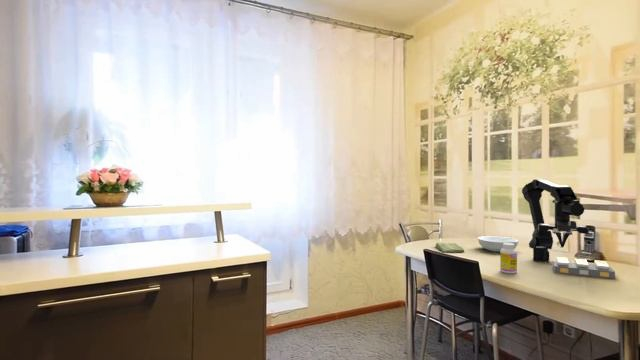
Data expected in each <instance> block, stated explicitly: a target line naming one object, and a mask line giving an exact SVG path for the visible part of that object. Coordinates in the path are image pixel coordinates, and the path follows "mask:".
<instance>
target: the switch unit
mask: <svg viewBox="0 0 640 360" xmlns="http://www.w3.org/2000/svg"><path fill="white" fill-rule="evenodd" d="M551 262H552V263H551V264H552V265H551V267H552V270H553V272H554V273H555V274H562V275H563V274H564V275H574V276H575V275H576V276H581V277H593V278H605V279H612V280H614V279H616V272H615V270H613V268H612V267H610V265H608V266H609V269H600V268H597V267H596V265H595V264H592V263H591V264H589V263H588V265H589V267H578V266H577V265H576V262H569V266H567V265H558V263H557V260H552V261H551Z"/></svg>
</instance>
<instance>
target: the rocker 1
mask: <svg viewBox="0 0 640 360" xmlns="http://www.w3.org/2000/svg"><path fill="white" fill-rule="evenodd" d="M556 261H557V263H558V265H567V266H569V263H570V261H569V260H568V258H567V257H559V256H556Z"/></svg>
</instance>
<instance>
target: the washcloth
mask: <svg viewBox="0 0 640 360" xmlns="http://www.w3.org/2000/svg"><path fill="white" fill-rule="evenodd" d="M435 248H437V249H438V250H439V251H441V252H442V253H444V252H446V253H465V249H464V248H463V247H462V246H460V245H459V244H457V243H455V242H454V243H452V242H451V243H450V242H447V243H446V242H436V244H435Z"/></svg>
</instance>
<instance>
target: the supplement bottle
mask: <svg viewBox="0 0 640 360" xmlns="http://www.w3.org/2000/svg"><path fill="white" fill-rule="evenodd" d="M514 247H515V246H514V244H513V243H503V249H501V251H500V252H499V255H500V257H499V258H500V262H499V263H500V267H499V268H500V272H502V273H505V274H510V275H511V274H512V275H513V274H516V273H518V251H517V250H516V248H515V249H514Z"/></svg>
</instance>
